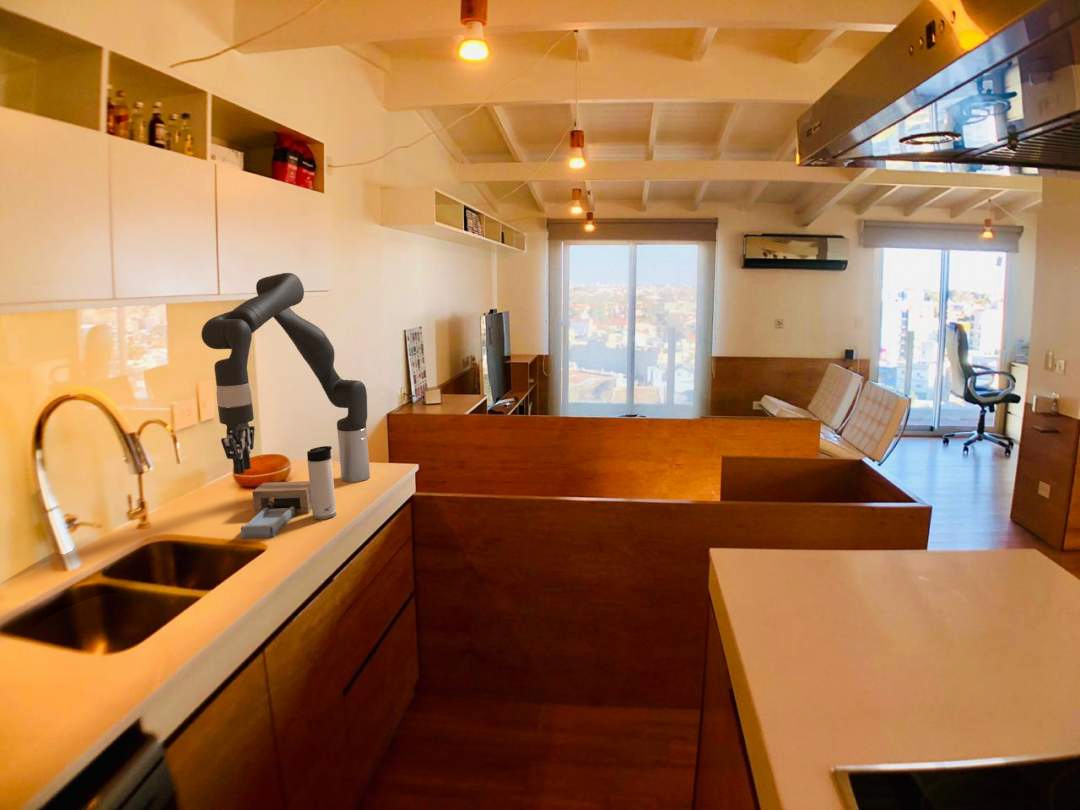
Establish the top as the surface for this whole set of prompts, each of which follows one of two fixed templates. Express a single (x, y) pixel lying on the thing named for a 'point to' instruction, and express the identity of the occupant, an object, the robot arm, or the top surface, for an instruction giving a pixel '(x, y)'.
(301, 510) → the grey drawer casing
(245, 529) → the tray shell
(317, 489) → the travel mug
